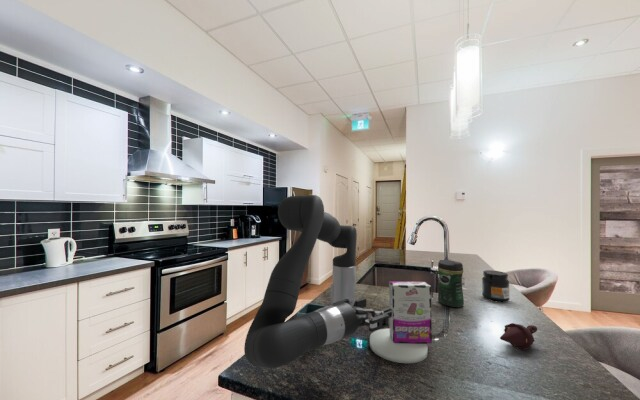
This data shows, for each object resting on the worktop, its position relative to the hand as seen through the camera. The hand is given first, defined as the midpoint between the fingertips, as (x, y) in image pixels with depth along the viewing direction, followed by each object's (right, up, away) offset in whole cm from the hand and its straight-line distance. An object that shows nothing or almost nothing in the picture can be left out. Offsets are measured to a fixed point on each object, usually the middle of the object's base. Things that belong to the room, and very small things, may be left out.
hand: (377, 306), depth 70 cm
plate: (+7, -14, +5) cm, 16 cm away
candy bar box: (+11, -12, +6) cm, 18 cm away
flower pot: (-17, -14, +9) cm, 24 cm away
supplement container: (+65, -17, +49) cm, 83 cm away
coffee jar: (+41, -16, +42) cm, 60 cm away
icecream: (+43, -15, +6) cm, 46 cm away
